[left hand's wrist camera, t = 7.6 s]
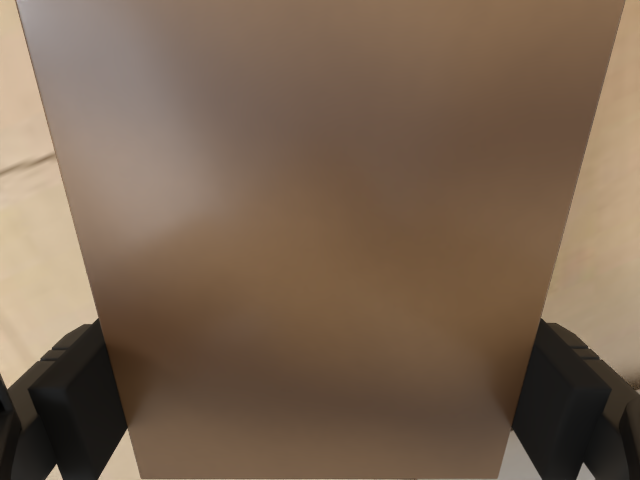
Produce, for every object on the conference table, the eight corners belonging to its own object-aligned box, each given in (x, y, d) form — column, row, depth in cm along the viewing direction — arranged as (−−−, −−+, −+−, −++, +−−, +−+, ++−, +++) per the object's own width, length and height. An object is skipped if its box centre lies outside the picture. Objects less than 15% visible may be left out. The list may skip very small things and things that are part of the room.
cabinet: (187, -194, 14) (-361, -1413, 3) (453, -193, 14) (1003, -1399, 3) (233, 282, 21) (140, 480, 10) (405, 282, 21) (498, 479, 10)
